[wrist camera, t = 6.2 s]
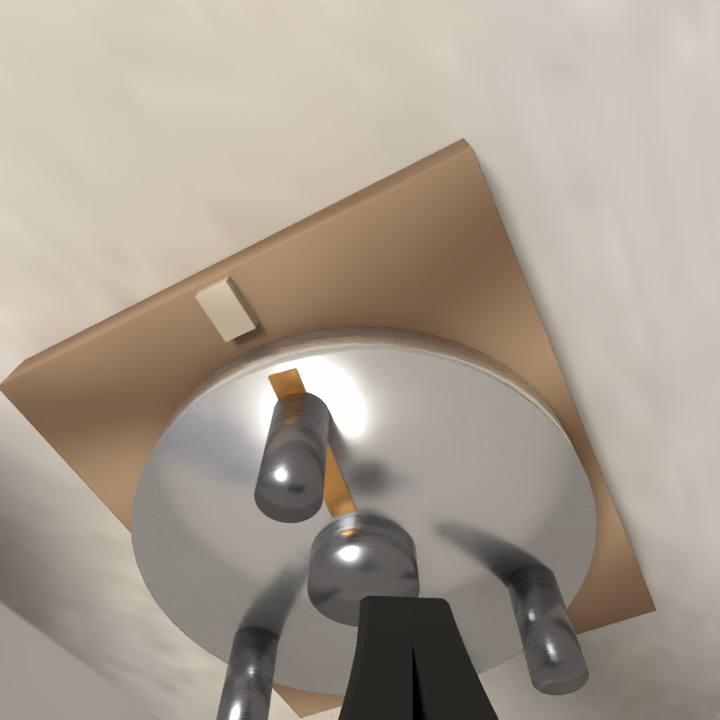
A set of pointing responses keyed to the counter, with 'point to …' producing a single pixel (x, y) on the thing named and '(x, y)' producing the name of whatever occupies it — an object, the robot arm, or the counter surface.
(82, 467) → the tan base board
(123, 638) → the counter surface
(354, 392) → the capstan dial
